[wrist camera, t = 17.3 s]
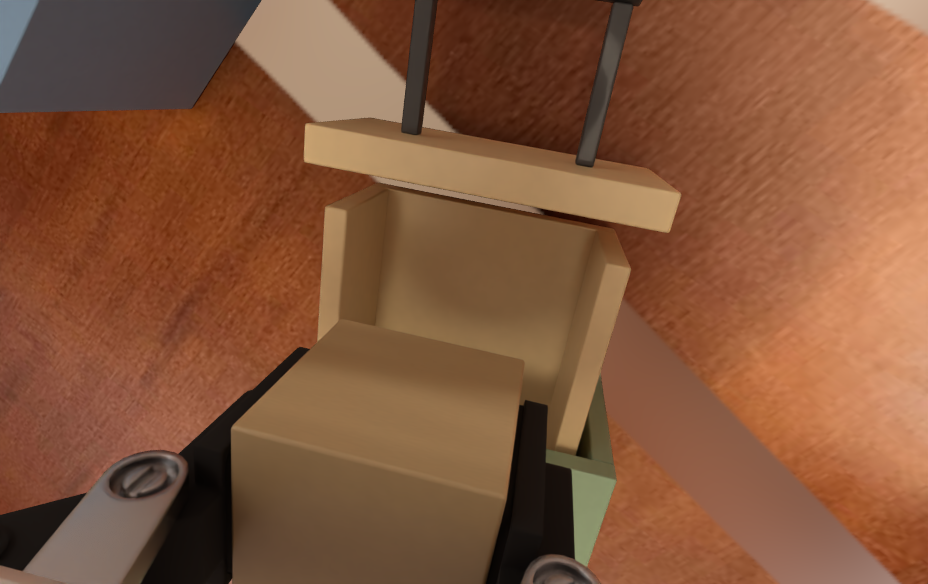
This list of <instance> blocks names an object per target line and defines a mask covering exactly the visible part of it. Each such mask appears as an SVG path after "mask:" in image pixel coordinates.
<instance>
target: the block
mask: <svg viewBox="0 0 928 584" xmlns="http://www.w3.org/2000/svg"><path fill="white" fill-rule="evenodd" d="M524 366H525V362H524V360H522V359H517V358H513V357H509V356H504V355H500V354H495V353H491V352H487V351H482V350H478V349H473V348H469V347H465V346H460V345H456V344H451V343H447V342H443V341H438V340H434V339H429V338H425V337H420V336H416V335H412V334H407V333H403V332H398V331H394V330H390V329H385V328H381V327H376V326H372V325H368V324H363V323H359V322H354V321H350V320H346V319H340V320H339V321H338V322H337V323H336V324H335V325H334V326H333V327H332V328H331V329H330V330H329V331H328V332H327V333H326V334H325V335H324V336H323V337H322V338H321V339H320V340H319V341H318V342H317V343H316V344H315V345H314V346H313V347H312V348H311V349H310V350H309V351H308V352H307V353H306V354H305V355H304V356H303V357H302V358H301V359H300V360H299V361H298V362H297V363H296V364H295V365H294V366H293V367H292V368H291V369H289V370H288V371H287V372H286V373H285V374H284V375H283V376H282V377H281V378H280V379H279V380H278V381H277V382H276V383H275V384H274V385H273V386H272V387H271V388H270V389H269V390H268V391H267V392H266V393H265V394H264V395H263V396H262V397H261V398H260V399H259V400H258V401H257V402H256V403H255V404H254V405H253V406H252V407H251V408H250V409H249V410H248V411H247V412H246V413H245V414H244V415H243V416H242V417H241V418H240V419H239V420H238V421H237V422H236V423H235V424H234V425H233V426H232V428H231V487H232V584H486V581H487V577H488V573H489V569H490V565H491V561H492V557H493V553H494V549H495V545H496V541H497V537H498V533H499V529H500V525H501V520H502V516H503V512H504V508H505V504H506V500H507V494H508V487H509V479H510V472H511V464H512V456H513V449H514V441H515V434H516V426H517V419H518V411H519V404H520V396H521V389H522V381H523V373H524Z"/></svg>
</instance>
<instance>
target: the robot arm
mask: <svg viewBox="0 0 928 584" xmlns="http://www.w3.org/2000/svg"><path fill="white" fill-rule="evenodd" d="M309 350H310V349H307V348H303V347H299V348H297V349H296V350H295V351H294V352H293V353H292V354H291V355H290V356H289V357H288V358H286V359H285V360H284V361H283V362H282V363H281V364H280V365H279V366H278V367H277V368H276V369H275V370H274V371H273V372H271V373H270V374H269V375H268V376H267V377H266V378H265V379H264V380H263V381H262V382H261V383H260V384H259V385H258V386H256V387H255V388H254V389H253V390H250V391H247V392H246V393H244V394H243V395H242V396H241V397H240V398H239V399H238V400H237V401H236V402H235V403H233V404H232V405H231V406H230V407H229V408H228V409H227V410H226V411H225V412H224V413H223V414H221V415H220V416H219V417H218V418H217V419H216V420H215V421H214V422H213V423H212V424H211V425H209V426H208V427H207V428H206V429H205V430H204V431H203V432H202V433H201V434H200V435H199V436H197V437H196V438H195V439H194V440H193V441H192V442H191V443H190V444H189V445H188V446H187V447H185V448H184V449H183V450H182V451H181V452H180V453H179V454H177V453H175V452H170V451H165V450H150V451H145V452H140V453H136V454H133V455H131V456H128V457H125V458H123V459H122V460H120V461H118V462H116V463H115V464H113V465H112V466H111V467H110V468H109V469H108V470H106V471H105V472H104V473H103V475H102V476H101V477H100V478H99V479H98V481H97V482H96V483H95V484H94V485H93V487H92V488H91V489H90V490H89V491H88V493H84V494H80V495H76V496H72V497H69V498H65V499H61V500H57V501H53V502H49V503H45V504H41V505H38V506H34V507H30V508H26V509H22V510H18V511H14V512H10V513H7V514H3V515H0V584H229V582H230V581H231V579H232V487H231V428H232V426H233V425H234V424H235V423H236V422H237V421H238V420H239V419H240V418H241V417H242V416H243V415H244V414H245V413H246V412H247V411H248V410H249V409H250V408H251V407H252V406H253V405H254V404H255V403H256V402H257V401H258V400H259V399H260V398H261V397H262V396H263V395H264V394H265V393H266V392H267V391H268V390H269V389H270V388H271V387H272V386H273V385H274V384H275V383H276V382H277V381H278V380H279V379H280V378H281V377H282V376H283V375H284V374H285V373H286V372H287V371H288V370H289V369H291V368H292V367H293V366H294V365H295V364H296V363H297V362H298V361H299V360H300V359H301V358H302V357H303V356H304V355H305V354H306V353H307V352H308V351H309ZM547 416H548V405H545V404H541V403H537V402H533V401H528V400H525V402H524V405H519V411H518V419H517V426H516V434H515V441H514V449H513V456H512V464H511V472H510V479H509V487H508V494H507V500H506V504H505V508H504V512H503V516H502V520H501V525H500V529H499V533H498V537H497V541H496V545H495V549H494V553H493V557H492V561H491V565H490V569H489V573H488V577H487V581H486V584H601V583H600V582H599V580H598V579H597V577H596V575H595V574H593V573H592V572H591V571H590V570H589V569H588V568H587V567H586V566H585V565H583V564H581V563H580V562H578V561H576V560H575V544H574V515H573V486H572V470H571V469H570V468H566V467H562V466H558V465H554V464H550V463H546V443H547Z"/></svg>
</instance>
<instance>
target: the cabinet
mask: <svg viewBox="0 0 928 584" xmlns="http://www.w3.org/2000/svg"><path fill="white" fill-rule="evenodd" d="M546 463H550V464H554V465H558V466H562V467H566V468H570V469H571V470H572V486H573V515H574V544H575V560H576V561H578V562H580V563H581V564H583V565H585V566H586V567H587V565H588V562H589V559H590V556H591V553H592V551H593V548H594V545H595V542H596V539H597V536H598V533H599V530H600V527H601V524H602V522H603V519H604V516H605V513H606V510H607V507H608V504H609V501H610V498H611V495H612V493H613V490H614V487H615V484H616V481H617V480H616V473H615V467H614V462H613V455H612V449H611V442H610V435H609V428H608V422H607V415H606V408H605V402H604V395H603V388H602V381H601V373H600V375H599V379H598V382H597V385H596V389H595V392H594V395H593V399H592V402H591V405H590V409H589V412H588V416H587V419H586V422H585V426H584V429H583V432H582V436H581V439H580V442H579V446H578V449H577V452H576V456H574V455H570V454H566V453H562V452H557V451H553V450H549V449H546Z"/></svg>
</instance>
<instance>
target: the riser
mask: <svg viewBox="0 0 928 584" xmlns="http://www.w3.org/2000/svg"><path fill="white" fill-rule="evenodd" d="M260 2H261V0H0V113H10V112H57V111H105V110H152V109H191V108H192V107H193V105H194V104H195V102H196V101H197V99H198V98H199V96H200V94H201V93H202V91H203V90H204V88H205V87H206V85H207V84H208V82H209V81H210V79H211V78H212V76H213V74H214V73H215V71H216V70H217V68H218V67H219V65H220V64H221V62H222V61H223V59H224V57H225V56H226V54H227V53H228V51H229V50H230V48H231V47H232V45H233V44H234V42H235V40H236V39H237V37H238V36H239V34H240V33H241V31H242V30H243V28H244V27H245V25H246V23H247V22H248V20H249V19H250V17H251V16H252V14H253V13H254V11H255V10H256V8H257V7H258V5H259V3H260Z"/></svg>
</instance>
